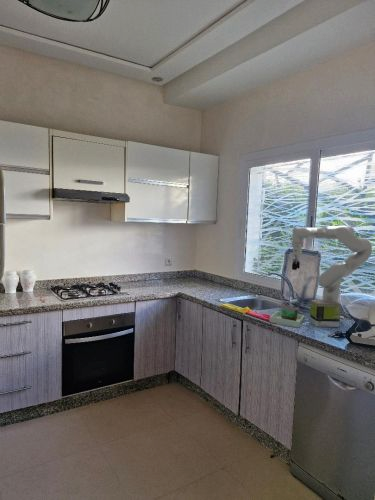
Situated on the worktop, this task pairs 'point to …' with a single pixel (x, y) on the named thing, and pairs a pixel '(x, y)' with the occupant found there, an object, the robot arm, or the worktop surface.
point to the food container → (289, 312)
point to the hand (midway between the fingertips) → (295, 269)
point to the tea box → (325, 313)
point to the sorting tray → (278, 320)
